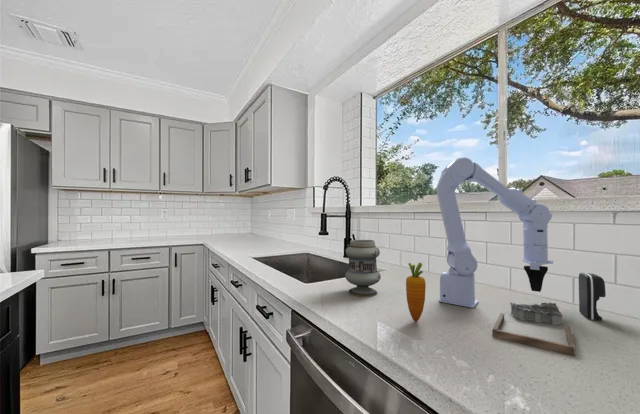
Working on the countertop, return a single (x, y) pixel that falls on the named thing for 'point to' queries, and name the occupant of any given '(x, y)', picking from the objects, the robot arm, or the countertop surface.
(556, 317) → the egg carton
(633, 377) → the countertop surface
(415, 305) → the carrot
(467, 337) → the countertop surface
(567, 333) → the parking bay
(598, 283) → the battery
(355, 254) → the apothecary jar
